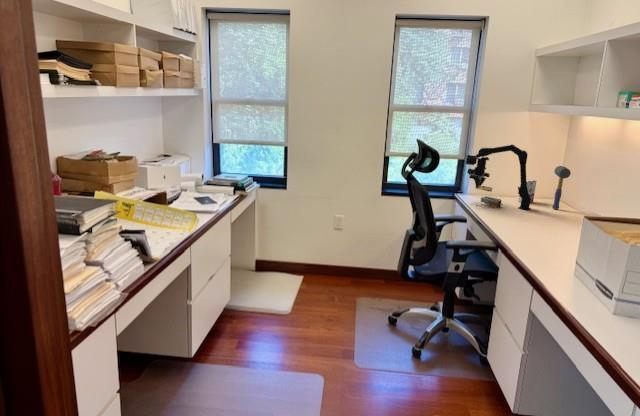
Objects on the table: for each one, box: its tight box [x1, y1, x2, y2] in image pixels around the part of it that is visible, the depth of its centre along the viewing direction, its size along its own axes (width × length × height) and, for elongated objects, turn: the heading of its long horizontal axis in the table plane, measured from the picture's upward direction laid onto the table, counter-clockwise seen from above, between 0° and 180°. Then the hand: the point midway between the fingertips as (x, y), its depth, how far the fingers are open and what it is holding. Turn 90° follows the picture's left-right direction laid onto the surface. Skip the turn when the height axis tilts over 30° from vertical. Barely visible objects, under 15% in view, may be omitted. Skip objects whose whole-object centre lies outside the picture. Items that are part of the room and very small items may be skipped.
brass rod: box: [475, 185, 493, 193], centre depth 305 cm, size 11×3×3 cm, turn 44°
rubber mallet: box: [552, 165, 572, 211], centre depth 297 cm, size 12×8×30 cm, turn 168°
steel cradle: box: [480, 195, 502, 204], centre depth 312 cm, size 8×11×3 cm
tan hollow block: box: [487, 198, 503, 209], centre depth 301 cm, size 7×6×4 cm
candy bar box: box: [518, 179, 537, 204], centre depth 316 cm, size 11×5×16 cm, turn 119°
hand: (478, 187), depth 308 cm, fingers closed on brass rod, 3 cm apart
